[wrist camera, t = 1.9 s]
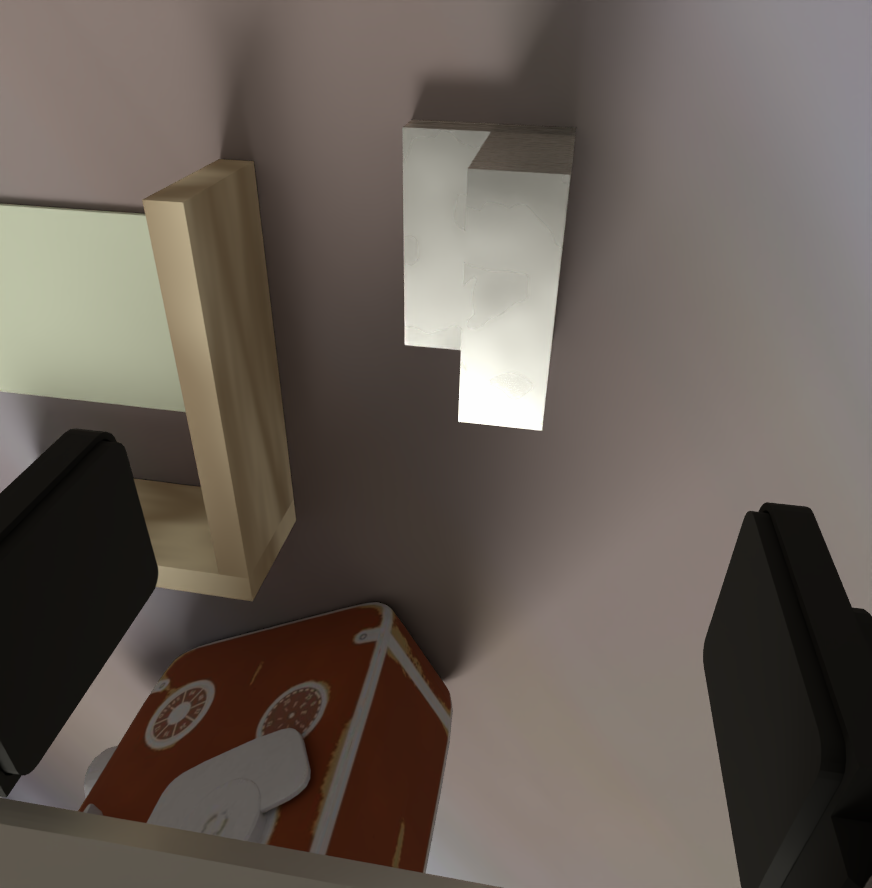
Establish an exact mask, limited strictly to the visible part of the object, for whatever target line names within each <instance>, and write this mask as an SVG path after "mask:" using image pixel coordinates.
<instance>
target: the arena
mask: <svg viewBox="0 0 872 888" xmlns="http://www.w3.org/2000/svg"><path fill="white" fill-rule="evenodd" d="M143 205H144V210H145V215H146V220H147V225H148V230H149V235H150V240H151V245H152V249H153V254H154V259H155V264H156V269H157V274H158V279H159V284H160V289H161V294H162V298H163V303H164V308H165V313H166V318H167V323H168V328H169V333H170V338H171V343H172V347H173V352H174V357H175V362H176V367H177V372H178V377H179V382H180V387H181V391H182V396H183V401H184V406H185V411H186V416H187V421H188V426H189V431H190V436H191V440H192V445H193V450H194V455H195V460H196V465H197V470H198V475H199V480H200V485H201V487H196V486H189V485H181V484H173V483H165V482H157V481H149V480H141V479H134V482H135V485H136V489H137V493H138V496H139V500H140V504H141V507H142V511H143V515H144V518H145V522H146V526H147V529H148V533H149V536H150V540H151V544H152V547H153V551H154V555H155V558H156V562H157V566H158V580H157V584H156V587H160V588H166V589H173V590H180V591H186V592H193V593H200V594H207V595H213V596H220V597H227V598H233V599H240V600H247V601H253V600H254V598H255V596H256V594H257V592H258V591H259V589H260V587H261V585H262V583H263V581H264V579H265V578H266V576H267V574H268V572H269V570H270V568H271V566H272V565H273V563H274V561H275V559H276V557H277V555H278V553H279V551H280V550H281V548H282V546H283V544H284V542H285V540H286V538H287V537H288V535H289V533H290V531H291V529H292V527H293V525H294V524H295V522H296V514H295V506H294V497H293V489H292V480H291V472H290V463H289V455H288V447H287V438H286V430H285V421H284V413H283V404H282V396H281V387H280V379H279V370H278V362H277V353H276V345H275V337H274V328H273V320H272V311H271V303H270V294H269V286H268V277H267V269H266V260H265V252H264V244H263V235H262V227H261V218H260V210H259V201H258V193H257V184H256V176H255V167H254V161H242V160H225V159H219V160H217V161H215V162H213V163H211V164H209V165H207V166H205V167H204V168H202V169H200V170H198V171H196V172H194V173H192V174H190V175H188V176H187V177H185V178H183V179H181V180H179V181H177V182H175V183H173V184H171V185H169V186H168V187H166V188H164V189H162V190H160V191H158V192H156V193H154V194H152V195H150V196H149V197H147V198H145V199H143Z"/></svg>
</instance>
